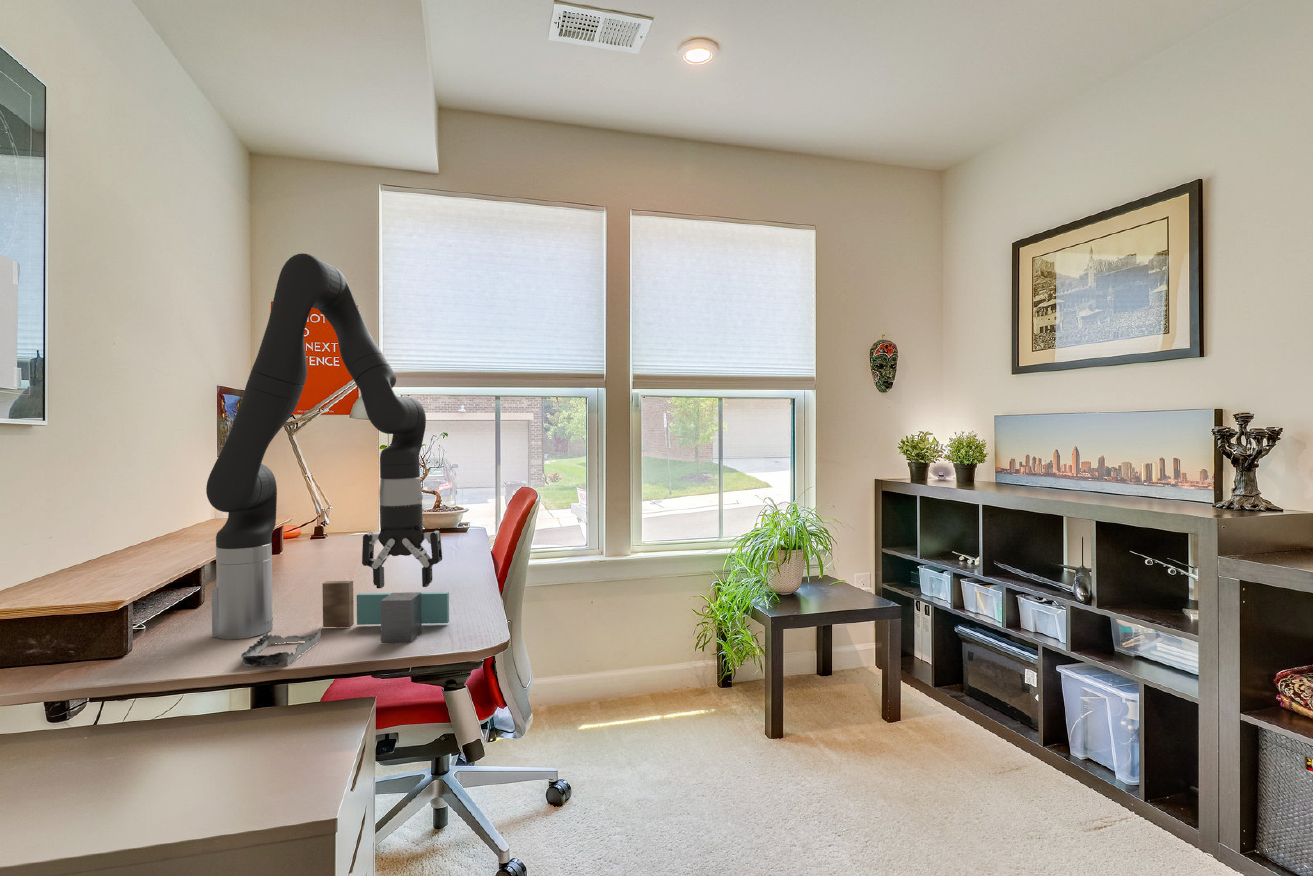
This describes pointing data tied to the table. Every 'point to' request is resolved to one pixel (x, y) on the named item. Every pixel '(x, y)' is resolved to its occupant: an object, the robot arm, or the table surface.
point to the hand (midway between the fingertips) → (403, 586)
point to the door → (431, 607)
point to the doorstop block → (401, 617)
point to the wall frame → (338, 604)
